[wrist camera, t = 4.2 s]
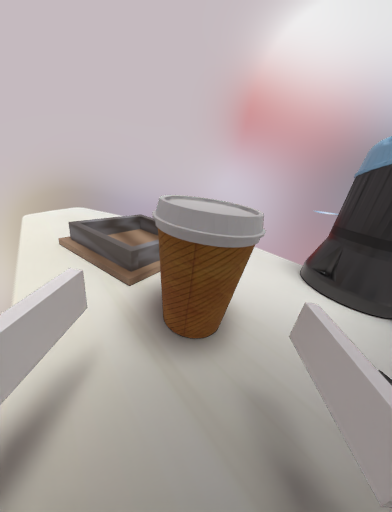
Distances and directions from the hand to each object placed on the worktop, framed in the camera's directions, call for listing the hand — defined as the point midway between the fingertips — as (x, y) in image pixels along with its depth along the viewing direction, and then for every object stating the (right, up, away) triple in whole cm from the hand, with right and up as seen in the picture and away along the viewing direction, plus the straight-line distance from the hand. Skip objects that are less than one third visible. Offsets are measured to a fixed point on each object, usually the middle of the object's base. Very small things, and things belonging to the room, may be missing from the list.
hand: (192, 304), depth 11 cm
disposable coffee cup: (0, -4, +9) cm, 10 cm away
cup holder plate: (-11, +4, +23) cm, 26 cm away
